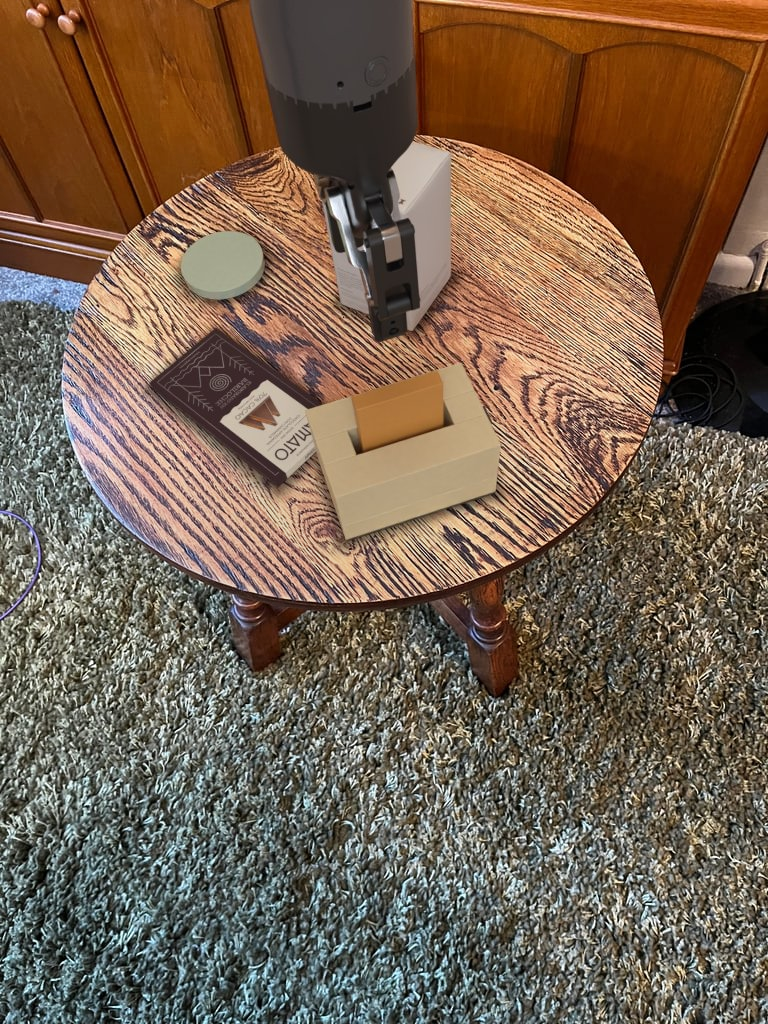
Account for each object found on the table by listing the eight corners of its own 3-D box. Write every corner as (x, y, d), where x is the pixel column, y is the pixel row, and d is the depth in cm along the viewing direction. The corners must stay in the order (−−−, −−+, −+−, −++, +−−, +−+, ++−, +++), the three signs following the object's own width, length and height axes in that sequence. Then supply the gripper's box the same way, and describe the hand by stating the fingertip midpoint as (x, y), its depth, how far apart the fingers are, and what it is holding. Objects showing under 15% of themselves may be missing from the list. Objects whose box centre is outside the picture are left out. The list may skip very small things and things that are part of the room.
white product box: (454, 275, 81) (455, 150, 68) (412, 334, 78) (405, 214, 65) (380, 248, 84) (368, 122, 71) (337, 303, 81) (315, 183, 67)
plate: (192, 309, 82) (189, 301, 81) (177, 252, 86) (173, 244, 85) (273, 285, 83) (271, 277, 82) (254, 230, 87) (252, 221, 86)
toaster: (346, 542, 67) (334, 497, 60) (318, 460, 72) (304, 410, 65) (504, 490, 69) (510, 441, 62) (467, 413, 73) (469, 359, 66)
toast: (368, 477, 67) (356, 410, 58) (363, 464, 68) (351, 396, 59) (443, 453, 68) (443, 383, 59) (438, 441, 68) (437, 369, 59)
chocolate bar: (215, 327, 79) (343, 418, 72) (218, 334, 80) (344, 424, 73) (149, 382, 76) (275, 482, 70) (152, 388, 77) (277, 487, 70)
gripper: (228, -7, 40) (287, 236, 55) (304, 159, 34) (348, 386, 48) (364, -44, 41) (387, 205, 55) (464, 112, 34) (461, 349, 49)
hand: (369, 289), depth 52 cm, fingers open, 8 cm apart
